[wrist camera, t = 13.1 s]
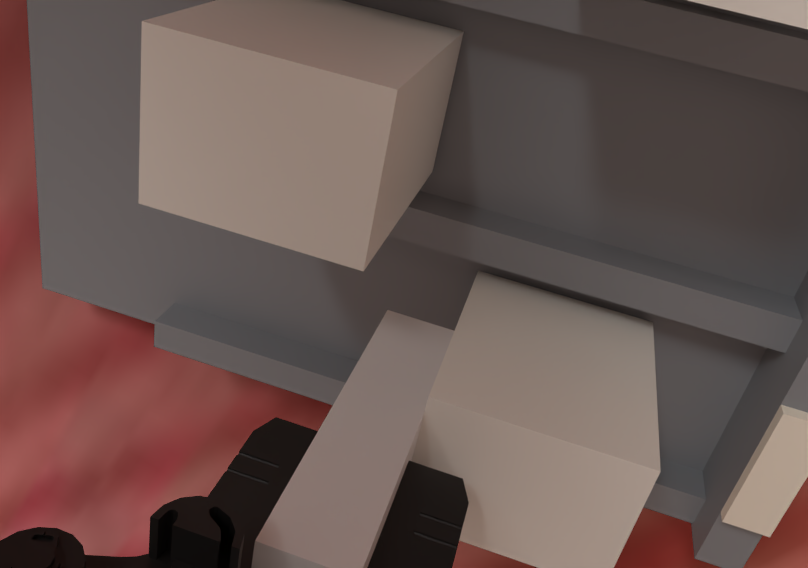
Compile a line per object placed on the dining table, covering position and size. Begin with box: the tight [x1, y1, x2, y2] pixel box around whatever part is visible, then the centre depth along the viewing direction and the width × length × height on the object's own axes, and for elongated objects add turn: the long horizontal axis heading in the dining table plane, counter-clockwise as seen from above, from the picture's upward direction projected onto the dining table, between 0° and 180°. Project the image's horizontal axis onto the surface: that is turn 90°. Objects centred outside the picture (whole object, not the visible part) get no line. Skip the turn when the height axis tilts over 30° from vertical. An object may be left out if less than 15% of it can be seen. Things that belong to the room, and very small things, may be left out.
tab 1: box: [138, 0, 464, 271], centre depth 14 cm, size 4×3×5 cm
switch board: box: [27, 0, 808, 568], centre depth 16 cm, size 20×16×4 cm
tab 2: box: [412, 271, 661, 568], centre depth 16 cm, size 4×3×5 cm
